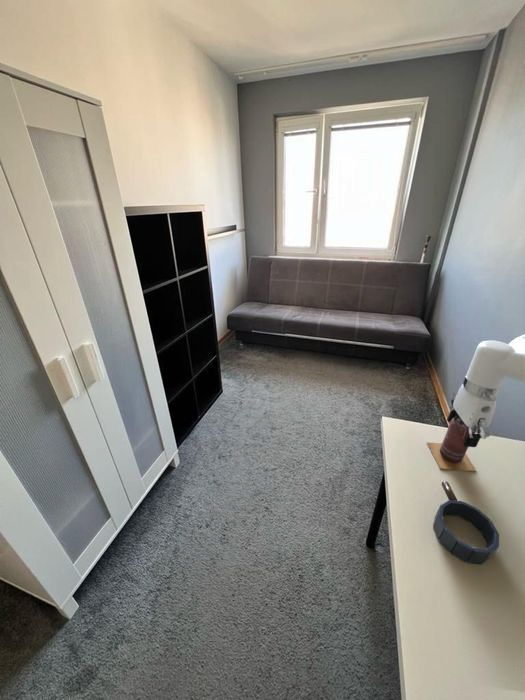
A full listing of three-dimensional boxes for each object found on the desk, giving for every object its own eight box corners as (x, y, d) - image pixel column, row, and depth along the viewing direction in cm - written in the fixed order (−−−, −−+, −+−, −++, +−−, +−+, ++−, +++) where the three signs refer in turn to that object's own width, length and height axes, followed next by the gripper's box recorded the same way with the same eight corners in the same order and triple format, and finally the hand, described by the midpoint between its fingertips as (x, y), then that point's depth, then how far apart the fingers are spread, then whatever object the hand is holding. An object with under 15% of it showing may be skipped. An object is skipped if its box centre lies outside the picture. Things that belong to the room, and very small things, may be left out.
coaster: (459, 445, 90) (459, 444, 90) (476, 471, 82) (476, 471, 82) (426, 443, 92) (427, 442, 91) (439, 469, 83) (440, 468, 83)
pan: (462, 492, 76) (468, 481, 74) (502, 567, 61) (511, 555, 59) (417, 489, 78) (422, 477, 75) (446, 560, 63) (452, 549, 60)
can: (442, 462, 84) (457, 428, 78) (436, 446, 90) (449, 413, 83) (465, 466, 83) (481, 432, 76) (457, 449, 88) (472, 416, 82)
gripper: (518, 408, 65) (492, 458, 74) (477, 368, 80) (459, 413, 89) (484, 407, 66) (461, 456, 75) (450, 367, 81) (434, 412, 90)
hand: (460, 433), depth 82 cm, fingers open, 9 cm apart
